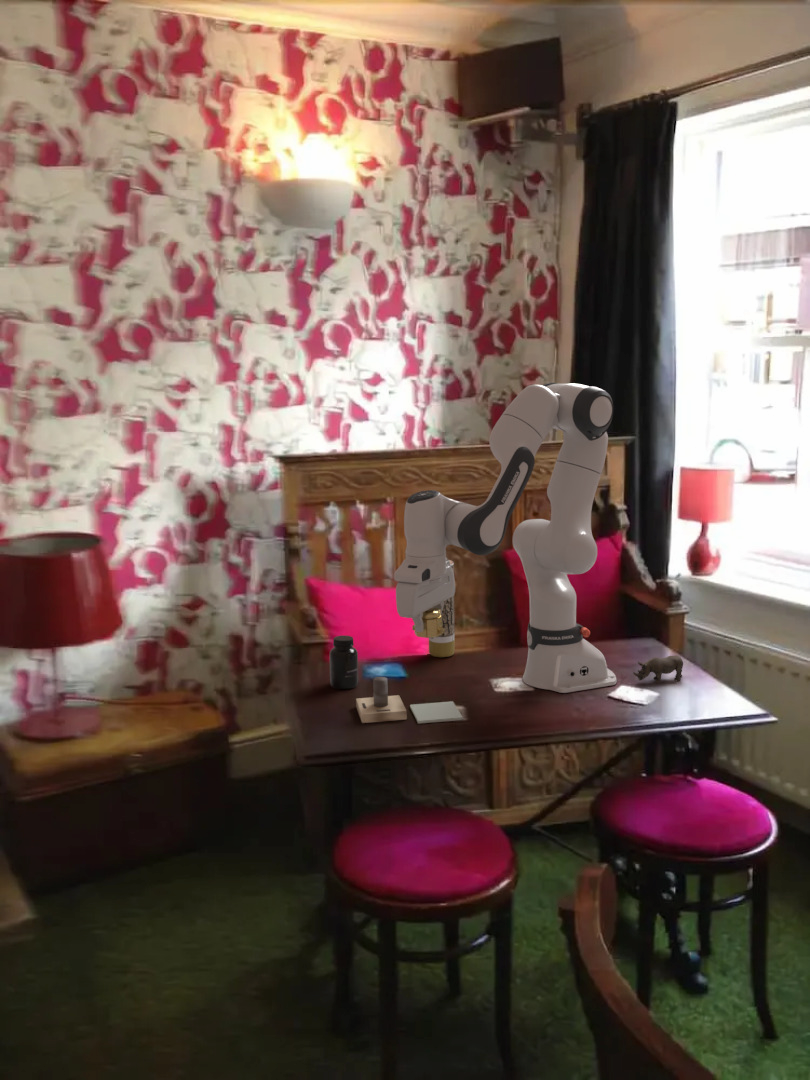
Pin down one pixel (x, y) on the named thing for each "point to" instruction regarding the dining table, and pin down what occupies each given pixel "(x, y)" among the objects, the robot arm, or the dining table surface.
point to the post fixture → (381, 704)
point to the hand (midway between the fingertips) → (428, 626)
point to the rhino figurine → (661, 667)
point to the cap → (431, 624)
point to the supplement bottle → (343, 663)
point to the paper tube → (445, 641)
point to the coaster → (436, 712)
